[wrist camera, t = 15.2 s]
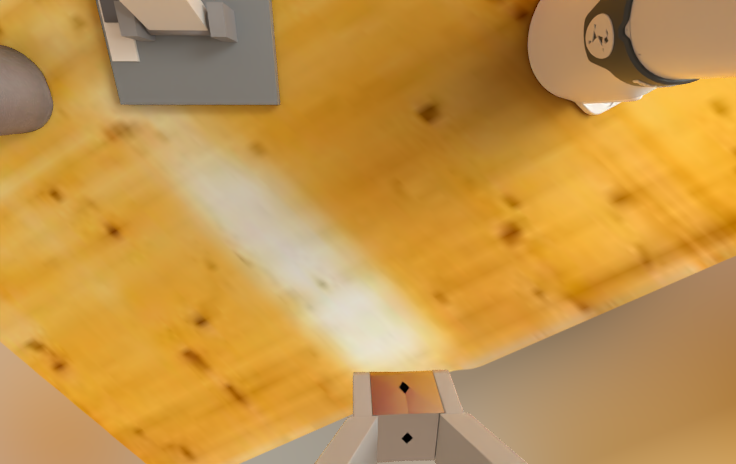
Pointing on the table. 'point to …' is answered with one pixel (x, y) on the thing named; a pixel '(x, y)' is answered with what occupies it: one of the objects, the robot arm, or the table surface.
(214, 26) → the switch board
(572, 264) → the table surface
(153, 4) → the block
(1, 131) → the pillar candle
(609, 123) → the table surface
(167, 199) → the table surface
